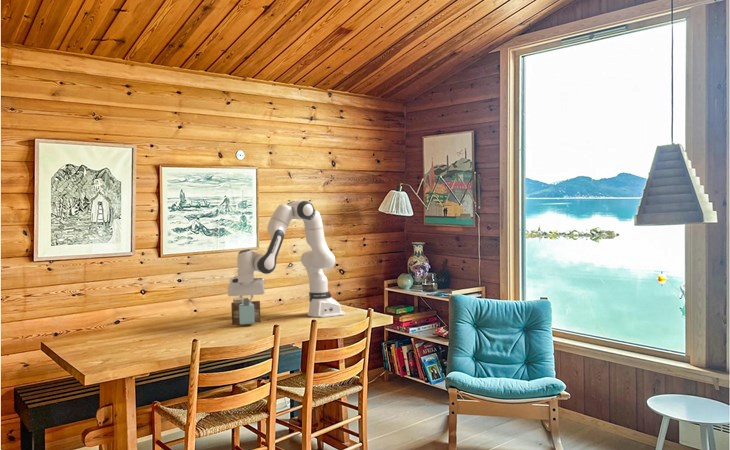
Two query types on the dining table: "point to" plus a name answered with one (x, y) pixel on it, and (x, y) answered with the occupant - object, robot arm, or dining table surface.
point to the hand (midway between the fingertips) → (246, 303)
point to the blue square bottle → (246, 312)
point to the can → (238, 299)
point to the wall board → (236, 311)
